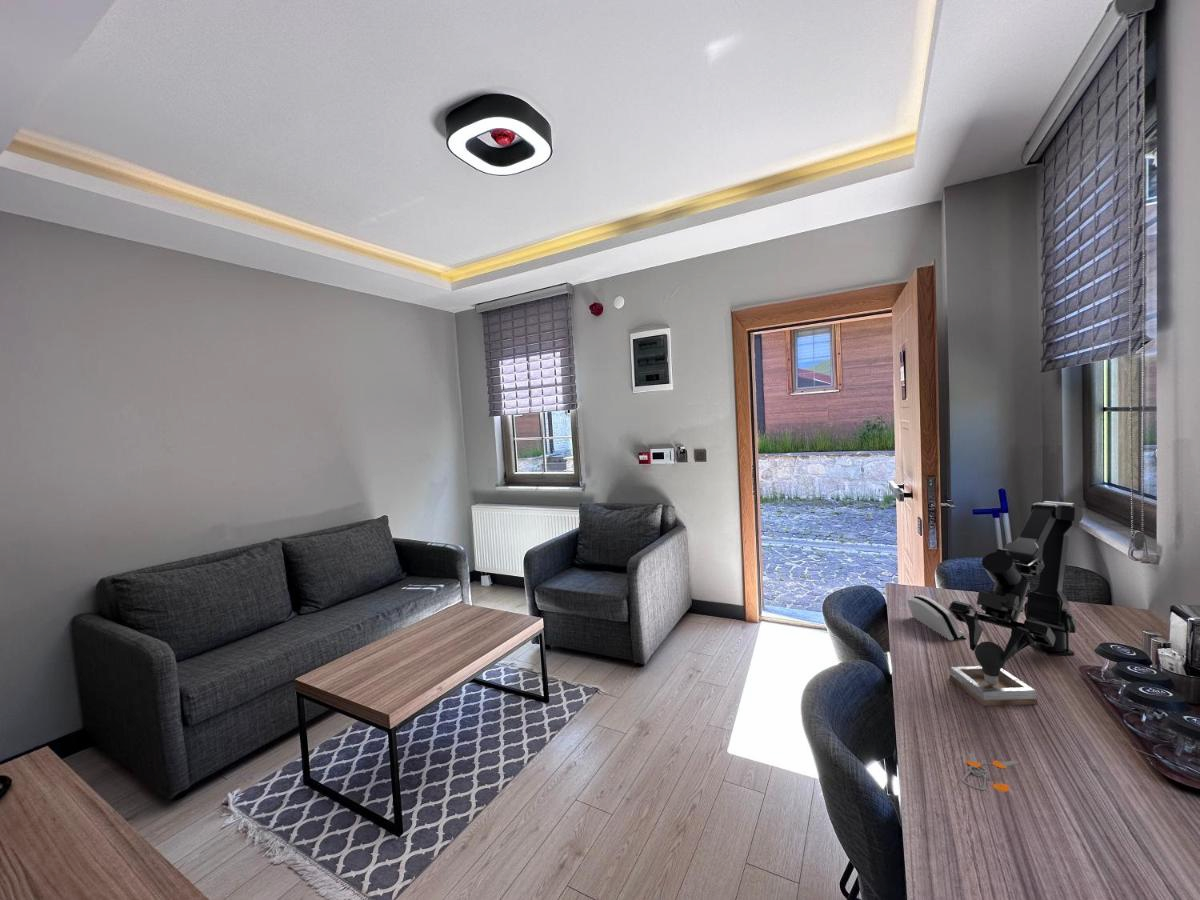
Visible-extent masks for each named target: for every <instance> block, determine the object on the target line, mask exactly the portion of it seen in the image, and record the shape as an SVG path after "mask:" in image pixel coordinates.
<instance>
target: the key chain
mask: <svg viewBox="0 0 1200 900" xmlns="http://www.w3.org/2000/svg"><path fill="white" fill-rule="evenodd" d="M967 757H968V760H966V764H967V765H968V766H969V767H968V771H967V772H966V773H965V774H964V776H963V777H962V778H961V780H960V781H961V782H962V783H963V784H965V785H967V786H968V787H971V788H974V789H977V790H980V791H985V790H986V783H987V779H988V781H991V779H990V777H988V776H987V775H986V773H987V769H986V768H985V767H982V766H985V765H991V766H994V767H996V768H998V767H999V769H1003V768H1004V769H1003V770H1005V768H1006V769H1008V767H1009V766H1011V767H1012V766H1015V765H1019V762H1018V761H1017V760H1009V761H1003V762H1002V761H999V760H994V759H993V761H992V763H991V762H983V763H980V762H978V761H977V760H976V756H975V753H973V752H969V755H968V756H967ZM981 768H982V769H981ZM970 774H973V775H974V776H976V777H979V778H980V777H981V778H982V779H981V780H983V786H982V787H978V786H975V785H972V784H970V783H968V782H966V781H965V780H966V779H967V777H969V775H970ZM1002 782H1003V781H1001V783H1000V784H998V785H997V783H996V784H994V785H993V787H992V788H993V789H995V790H997V791H999V792H1002V793H1003V792H1010V787H1009V785H1008V784H1006V783H1005V784H1002ZM993 783H994V782H993ZM993 783H992V784H993ZM992 784H991V785H992ZM991 785H990V786H991ZM999 785H1001V786H999Z"/></svg>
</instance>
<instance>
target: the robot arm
mask: <svg viewBox="0 0 1200 900" xmlns="http://www.w3.org/2000/svg"><path fill="white" fill-rule="evenodd" d="M1030 508H1031V509H1030V514H1029V516H1028V518H1027V520H1026V522H1025V524H1024V525H1023V528H1022V529H1021V531H1020V533H1019V535H1018V537H1017V538H1016V539H1015V540H1013V541H1011V542H1007V544H1006V545H1005V547H1004V548H996V551H994V552H991V553H988V554H987V555H985V556H984V557H983V558H982V560H981V564H982V567H983V569H984V570H985V571H986V574H988V576H989V578H990V579H991V580H992V582H993V583H995V585H994V587H993V590H990V591H989V592H987V591H982V590H978V593H977V594H978V595H977V598H976V605H978V606H979V605H980V606H981V607H980V608H981V610H982V611H984V612H980V611H977V610H976V609H975V608H974V607H973V606H972V604H970V603H966V602H962V601H958V600H954V601H952V602H950V604H949V606H948V608H947V609H948V611H949V612H950V613H951V615H952V617H953V618H955V620H957V621H958V622H961V623H965V624H966V625H967V628H968V638H969V639H968V640H969V649H970V650H971V651H974V652H975V648H976V646H977V645H978V644H979V641H980V638H981V635H982V633H983V631H984V628H983V627H982V626H981V622H984V623H988V624H992V625H995V626H998V627H1001V628H1006V629H1010V630H1011V632H1010V637H1009V640H1008V641H1007V644H1006V646H1005V649H1004V653H1003V657H1002V659H1003V660H1004V661H1006V662H1007V661H1008V660H1010V659H1011V658H1012V657H1013V656H1014V655H1016V654H1017V653H1019V652H1020V651H1022V650H1024V649H1025V648H1027V647H1029V646H1031V647H1033V648H1035V649H1037V650H1038V651H1040V652H1042V653H1045V654H1046V655H1047V656H1063V655H1075V652H1074V650H1071V649H1070V645H1069V643H1070V642H1069V641H1070V640H1069V637H1070V635H1069V634H1076V633H1077V620H1076V619H1075V617H1074V615H1073V614H1072V612H1071V610H1070V603H1069V601H1068V599H1067V598H1066V596H1065V595H1064V593H1063V586H1064V579H1065V569H1066V561H1067V553H1068V543H1069V537H1070V536H1071V535H1072V534H1073V533H1075V532H1076V531H1077V530H1078V529H1079V526H1080V522H1082V520H1083V518H1084V511H1083V509H1082V508H1081V507H1078V504H1076V503H1074V502H1063V501H1062V502H1061V501H1053V500H1052V501H1051V500H1050V501H1048V500H1044V501H1043V502H1033V503H1032V504H1031V507H1030ZM1041 550H1042V553H1041ZM1038 574H1039V577H1038V584H1037V587H1036V588H1035V589H1033V590H1031V586H1030V581H1029V580H1028V578H1027V577H1025V576H1024V575H1026V576H1031V577H1032V576H1033V577H1034V576H1035V577H1036V576H1038ZM1030 590H1031V591H1030ZM1028 591H1029V592H1028ZM1027 592H1028V593H1027ZM1026 595H1027V600H1026V602H1025V598H1026ZM1024 602H1025V604H1024ZM1023 605H1024V606H1023ZM1023 612H1024V615H1025V620H1024V622H1020V621H1018V619H1019V617H1020V613H1023Z"/></svg>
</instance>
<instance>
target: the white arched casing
mask: <svg viewBox="0 0 1200 900" xmlns="http://www.w3.org/2000/svg"><path fill="white" fill-rule="evenodd" d="M906 601H907V604H908V608H909V611H910V613H911V616H912V618H913V617H914V618H916V619H917V620H916V619H915V620H916V621H918V620H919V621H920V622H919V621H918V622H919V623H921V622H922V623H923V625H924V624H925V625H924V626H926V625H927V626H928V628H929V629H930V628H931V629H930V630H932V629H933V630H932V631H933V632H935V631H936V633H937V632H938V633H939V634H938V633H937V634H938V635H940V634H941V635H940V636H941V637H943V636H944V638H945V639H946V638H947V639H946V640H948V639H949V640H948V641H954V640H955V638H958V639H959V638H962V637H963V638H962V639H964V638H967V636H966V633H965V632H963V631H961V630H960V629H959V627H958V626H957V625H958V624H956V621H955V619H954V616H953V614H952V613H951V612H950V610H949V609H948V610H947V609H946V608H945V607H944V606H943V605H941V604H940V603H939V602H937V601H936V600H934V599H932V598H930V597H928V596H925V595H921V594H918V595H914V596H913V597H910V598H908V599H907V600H906ZM914 618H913V619H914ZM922 623H921V624H922ZM927 626H926V627H927ZM961 636H962V637H961Z"/></svg>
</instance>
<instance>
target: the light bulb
mask: <svg viewBox="0 0 1200 900" xmlns="http://www.w3.org/2000/svg"><path fill="white" fill-rule="evenodd" d="M1004 651H1005V649H1003V648H1002V647H1001V646H1000V645H998V643H997V644H996V642H992V641H982V642H980V643H978V644H977V646H976V648H975V649H974V655H975V658H976V660H977V661H978V663H979V666H982V669H983V672H984V679H985V682H987V683H988V684H989V685H990V686H994V685H997V684H998V675H999V672H1000V670H1001V668H1002V669H1003V667H1004V666H1005V664H1006V663H1007V661H1004V660H1003V659H1002V657H1003V653H1004Z"/></svg>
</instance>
